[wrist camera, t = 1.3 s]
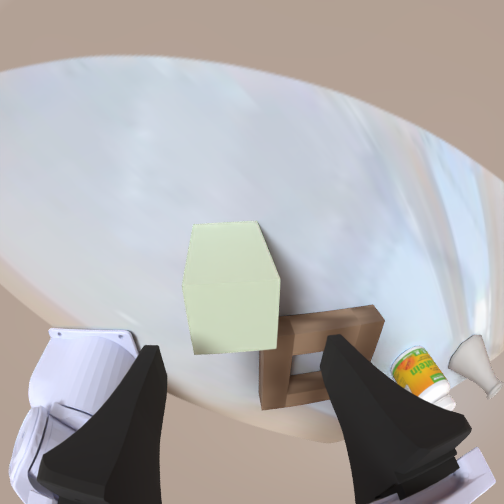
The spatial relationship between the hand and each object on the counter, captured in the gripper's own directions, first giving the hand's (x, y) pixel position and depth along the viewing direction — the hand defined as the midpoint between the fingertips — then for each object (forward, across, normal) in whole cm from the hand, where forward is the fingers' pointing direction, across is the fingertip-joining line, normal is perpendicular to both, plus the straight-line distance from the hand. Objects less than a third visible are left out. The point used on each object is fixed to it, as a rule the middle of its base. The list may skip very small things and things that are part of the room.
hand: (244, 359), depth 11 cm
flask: (+11, -36, +19) cm, 42 cm away
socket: (+11, -8, +12) cm, 18 cm away
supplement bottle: (+11, -22, +17) cm, 30 cm away
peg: (+11, 0, 0) cm, 11 cm away
